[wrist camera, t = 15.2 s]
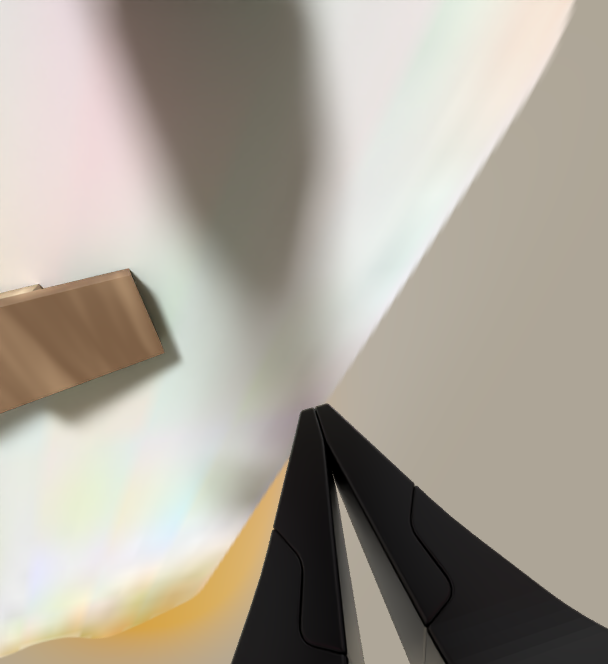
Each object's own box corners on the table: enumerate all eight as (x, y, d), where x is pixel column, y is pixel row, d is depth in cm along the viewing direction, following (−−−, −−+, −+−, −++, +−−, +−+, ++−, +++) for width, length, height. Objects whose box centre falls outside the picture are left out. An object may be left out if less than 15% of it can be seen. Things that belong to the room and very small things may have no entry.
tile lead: (130, 275, 15) (-152, 344, 11) (164, 352, 18) (-56, 434, 13) (128, 268, 17) (-120, 327, 13) (160, 340, 19) (-39, 410, 15)
